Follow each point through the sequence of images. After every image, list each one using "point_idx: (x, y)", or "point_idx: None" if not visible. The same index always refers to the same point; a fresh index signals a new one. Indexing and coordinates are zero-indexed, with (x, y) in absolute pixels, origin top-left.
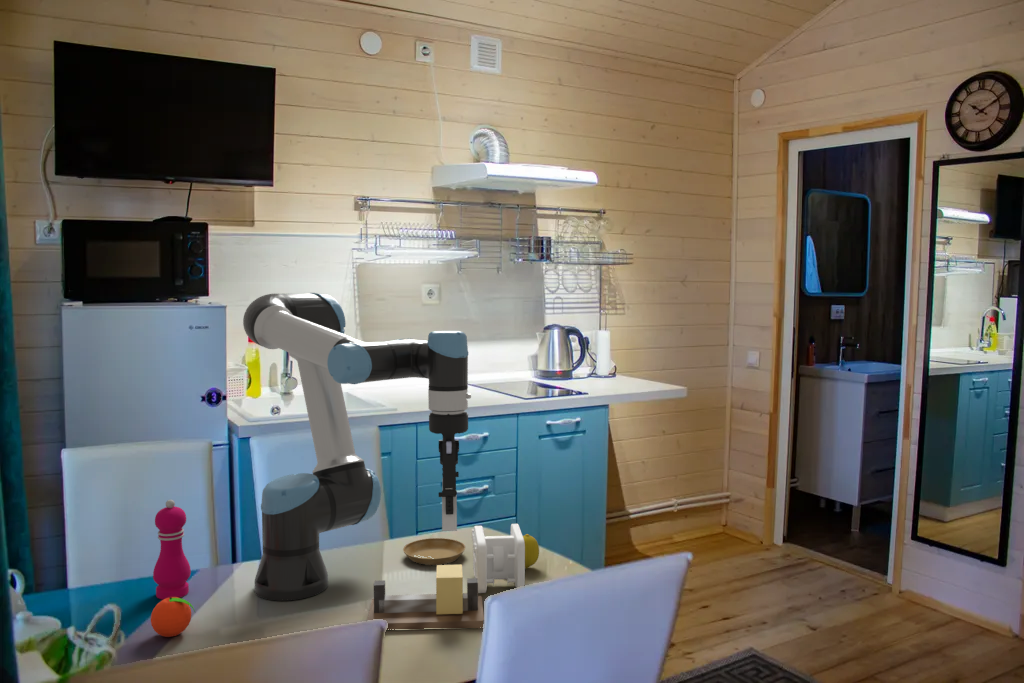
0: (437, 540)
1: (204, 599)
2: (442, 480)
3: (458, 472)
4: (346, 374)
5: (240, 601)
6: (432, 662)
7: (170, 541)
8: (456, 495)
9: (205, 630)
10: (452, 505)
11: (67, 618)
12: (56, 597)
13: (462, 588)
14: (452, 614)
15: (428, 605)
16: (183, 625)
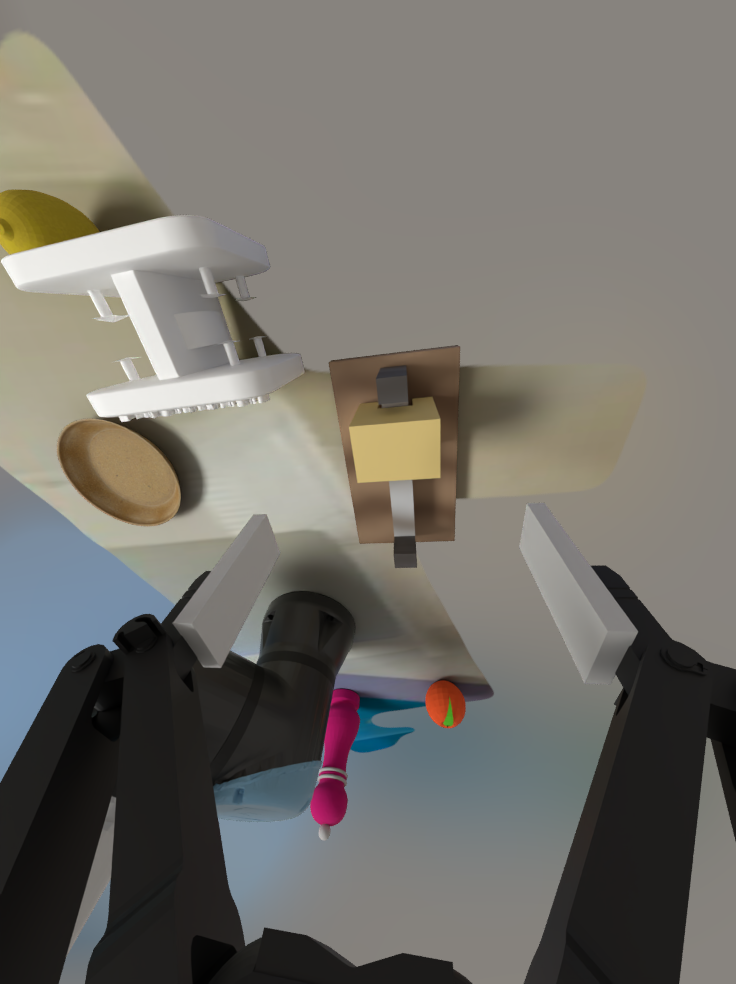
0: (72, 475)
1: (355, 676)
2: (223, 660)
3: (117, 636)
4: None
5: (357, 653)
6: (585, 431)
7: (344, 769)
8: (615, 631)
9: (433, 665)
10: (643, 607)
11: (402, 734)
12: (360, 745)
13: (437, 411)
14: None
15: None
16: (455, 690)
